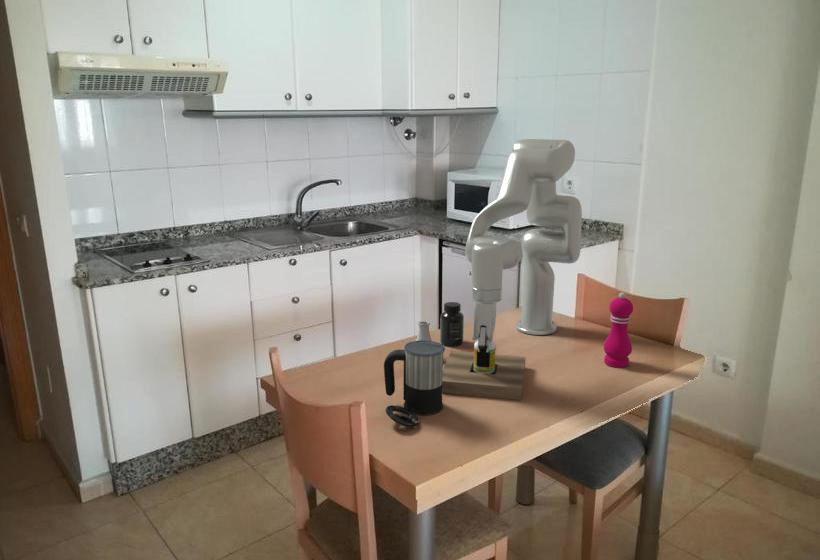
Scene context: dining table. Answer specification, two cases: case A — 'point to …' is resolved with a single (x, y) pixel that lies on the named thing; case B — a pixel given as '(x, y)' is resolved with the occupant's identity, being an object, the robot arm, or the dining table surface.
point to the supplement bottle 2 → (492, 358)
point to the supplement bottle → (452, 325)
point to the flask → (423, 331)
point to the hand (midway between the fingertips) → (484, 361)
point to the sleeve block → (484, 376)
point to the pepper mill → (619, 333)
